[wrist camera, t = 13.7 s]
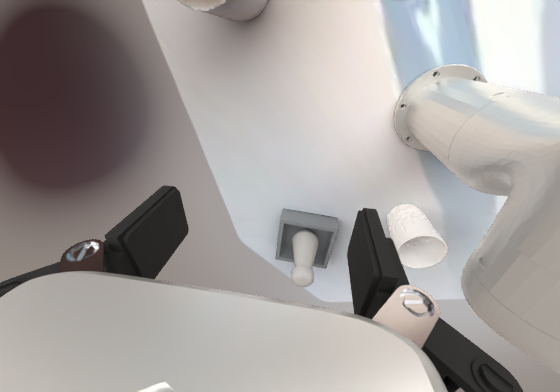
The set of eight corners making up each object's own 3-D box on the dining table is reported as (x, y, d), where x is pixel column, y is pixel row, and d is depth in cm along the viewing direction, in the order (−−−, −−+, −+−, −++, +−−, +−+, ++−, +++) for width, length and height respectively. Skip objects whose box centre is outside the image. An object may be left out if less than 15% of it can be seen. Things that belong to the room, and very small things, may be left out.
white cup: (431, 204, 45) (457, 240, 36) (415, 234, 49) (434, 272, 41) (390, 198, 45) (406, 231, 37) (378, 228, 50) (389, 264, 41)
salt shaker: (318, 244, 54) (317, 293, 43) (293, 243, 55) (287, 290, 44) (318, 225, 51) (318, 272, 40) (293, 224, 52) (285, 270, 41)
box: (337, 217, 50) (338, 229, 46) (325, 255, 56) (326, 268, 53) (283, 208, 51) (280, 219, 47) (278, 246, 57) (275, 258, 54)
